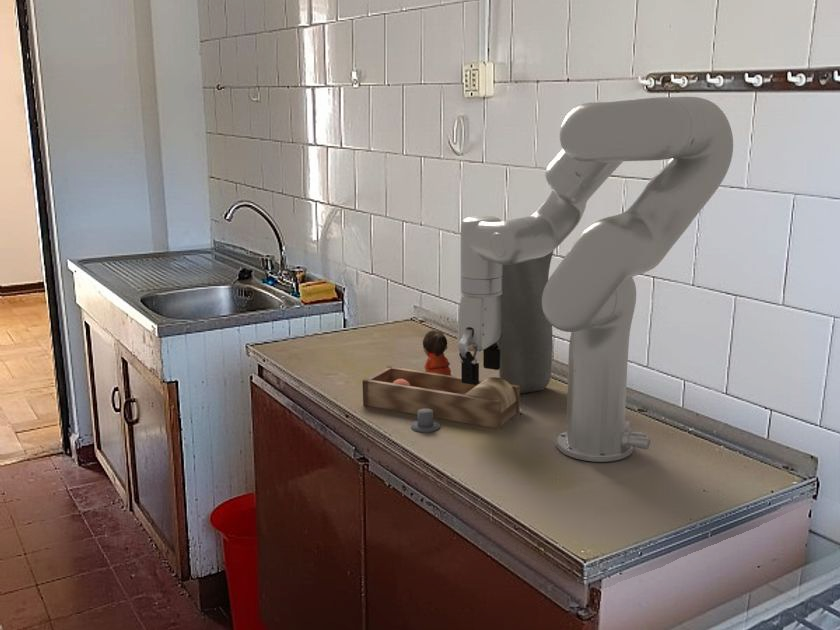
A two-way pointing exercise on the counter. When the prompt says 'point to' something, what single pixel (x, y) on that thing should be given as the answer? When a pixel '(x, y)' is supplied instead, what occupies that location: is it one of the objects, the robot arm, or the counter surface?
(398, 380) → the ball
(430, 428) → the stand
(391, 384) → the wooden trough
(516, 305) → the vase
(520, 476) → the counter surface
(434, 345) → the figurine
